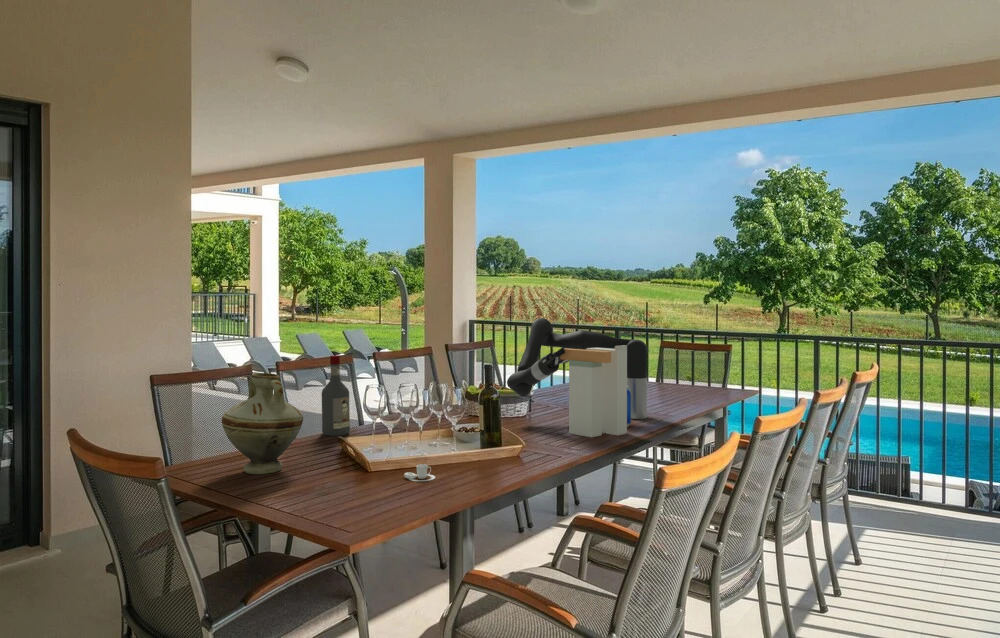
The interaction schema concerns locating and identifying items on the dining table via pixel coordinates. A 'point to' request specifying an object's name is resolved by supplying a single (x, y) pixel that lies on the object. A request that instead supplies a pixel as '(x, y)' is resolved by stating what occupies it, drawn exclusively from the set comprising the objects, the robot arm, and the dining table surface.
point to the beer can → (628, 406)
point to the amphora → (263, 424)
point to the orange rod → (586, 355)
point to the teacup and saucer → (419, 473)
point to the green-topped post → (585, 398)
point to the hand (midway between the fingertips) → (571, 349)
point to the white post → (614, 391)
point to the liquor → (335, 403)
